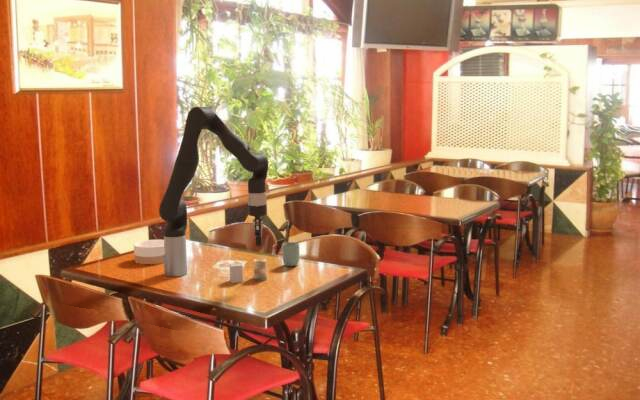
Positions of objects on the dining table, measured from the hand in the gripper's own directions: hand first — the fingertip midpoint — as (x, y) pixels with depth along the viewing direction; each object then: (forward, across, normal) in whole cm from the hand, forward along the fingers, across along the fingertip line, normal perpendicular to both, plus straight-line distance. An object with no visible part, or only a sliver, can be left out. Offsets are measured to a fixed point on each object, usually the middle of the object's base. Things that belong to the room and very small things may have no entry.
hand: (258, 245), depth 285 cm
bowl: (+16, -47, -52) cm, 72 cm away
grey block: (+16, -6, -10) cm, 20 cm away
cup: (+16, -30, +13) cm, 37 cm away
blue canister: (+16, -9, 0) cm, 19 cm away
